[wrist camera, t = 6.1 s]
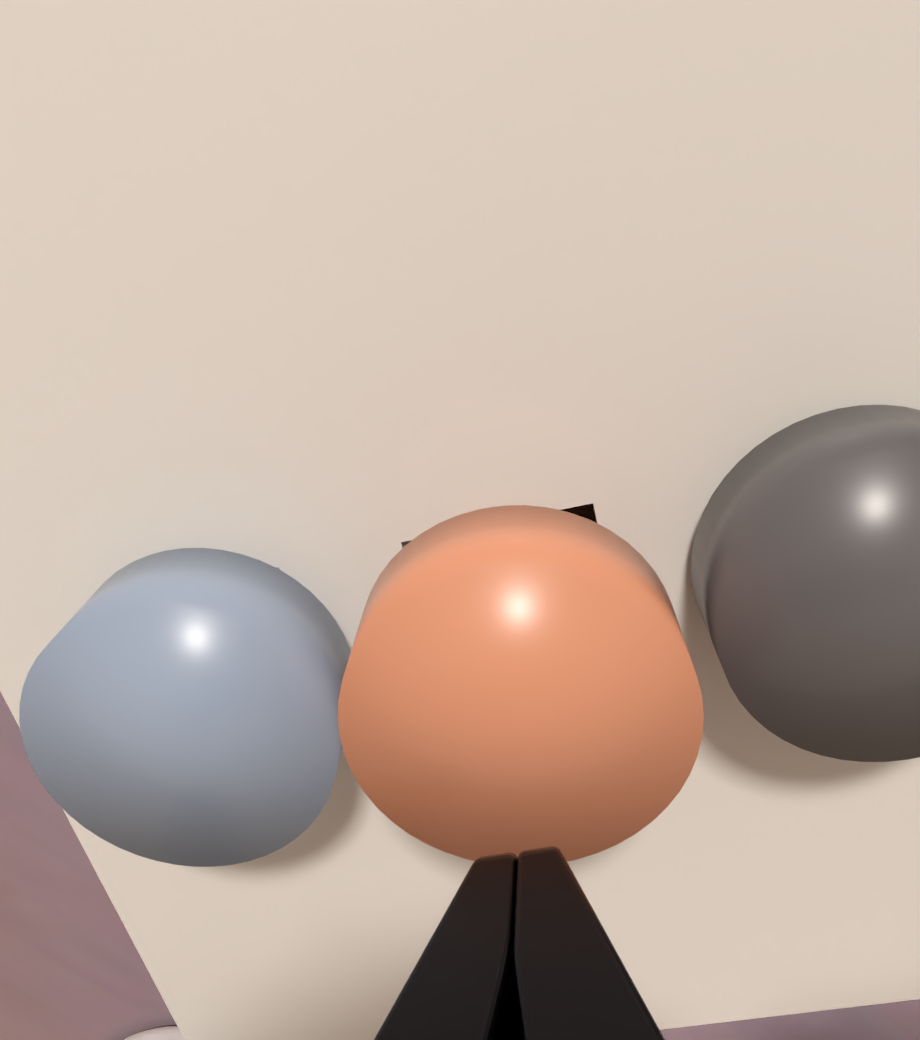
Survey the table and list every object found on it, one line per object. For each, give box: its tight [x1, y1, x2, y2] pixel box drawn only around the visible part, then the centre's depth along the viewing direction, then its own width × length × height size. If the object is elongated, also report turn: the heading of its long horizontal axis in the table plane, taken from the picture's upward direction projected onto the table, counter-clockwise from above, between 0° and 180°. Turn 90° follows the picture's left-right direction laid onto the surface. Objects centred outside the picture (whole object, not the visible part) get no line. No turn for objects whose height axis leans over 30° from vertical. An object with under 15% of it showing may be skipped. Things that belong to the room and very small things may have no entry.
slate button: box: [19, 548, 351, 867], centre depth 14 cm, size 5×5×4 cm
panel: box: [0, 0, 920, 1040], centre depth 15 cm, size 18×20×2 cm
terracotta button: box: [338, 505, 704, 862], centre depth 13 cm, size 5×5×4 cm
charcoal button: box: [691, 405, 920, 762], centre depth 13 cm, size 5×5×4 cm
